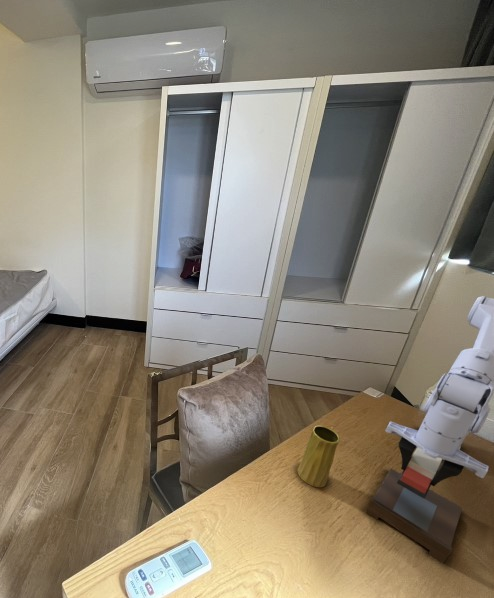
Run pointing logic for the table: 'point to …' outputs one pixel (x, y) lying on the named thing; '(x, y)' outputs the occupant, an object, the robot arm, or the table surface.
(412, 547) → the table surface
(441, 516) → the dark brown slab
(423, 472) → the two-tone white red block
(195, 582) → the table surface
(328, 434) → the vase
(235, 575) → the table surface
